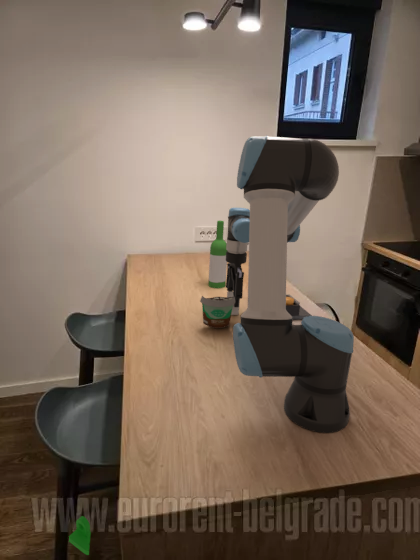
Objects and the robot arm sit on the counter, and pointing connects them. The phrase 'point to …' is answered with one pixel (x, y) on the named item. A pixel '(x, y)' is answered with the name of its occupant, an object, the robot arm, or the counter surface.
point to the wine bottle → (218, 259)
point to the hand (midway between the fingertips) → (232, 310)
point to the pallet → (296, 310)
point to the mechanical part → (81, 535)
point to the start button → (289, 301)
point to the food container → (217, 311)
